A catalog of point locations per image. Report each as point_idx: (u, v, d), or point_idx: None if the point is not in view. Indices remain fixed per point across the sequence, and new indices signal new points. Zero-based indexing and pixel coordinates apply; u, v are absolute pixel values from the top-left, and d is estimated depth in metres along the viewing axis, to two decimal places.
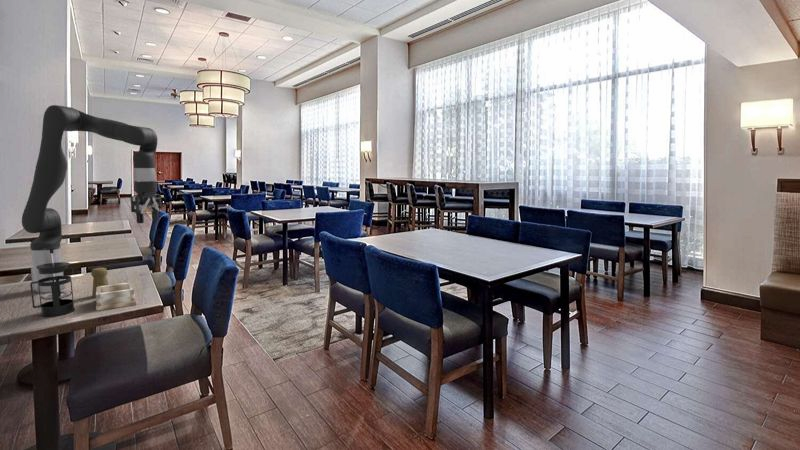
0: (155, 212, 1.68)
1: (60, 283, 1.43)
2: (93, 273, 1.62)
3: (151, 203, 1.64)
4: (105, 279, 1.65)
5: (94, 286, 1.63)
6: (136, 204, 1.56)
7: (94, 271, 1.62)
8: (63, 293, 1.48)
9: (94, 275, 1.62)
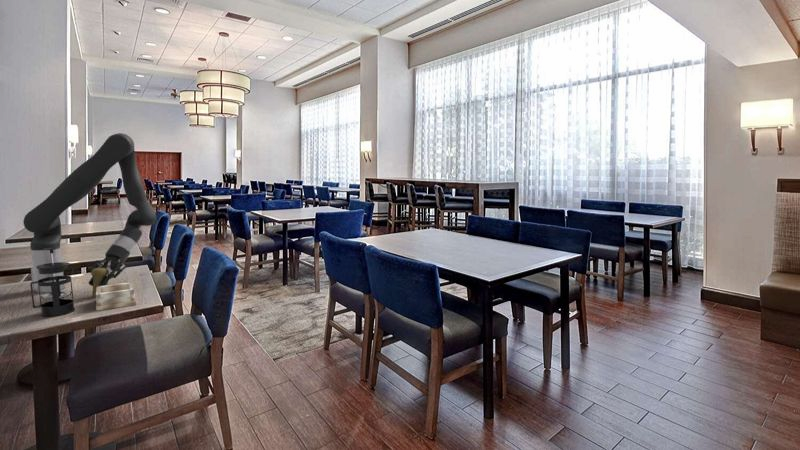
0: None
1: (60, 283, 1.43)
2: (93, 273, 1.62)
3: None
4: None
5: (94, 286, 1.63)
6: (120, 272, 1.67)
7: (94, 271, 1.62)
8: (63, 293, 1.48)
9: (94, 275, 1.62)
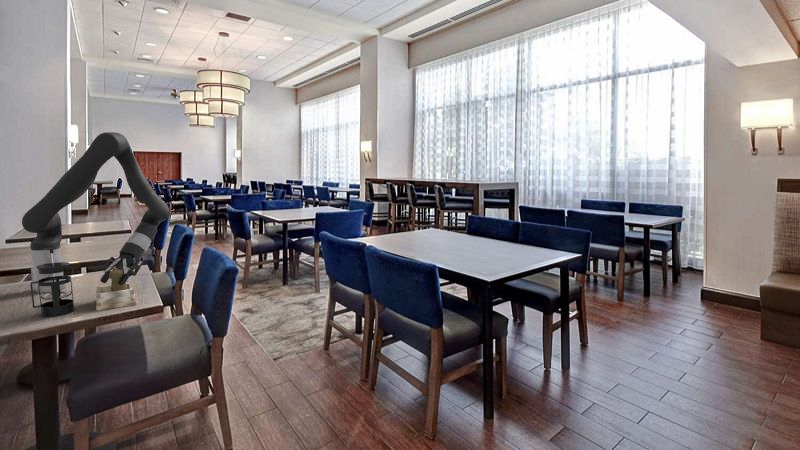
0: None
1: (60, 283, 1.43)
2: (111, 275, 1.54)
3: None
4: None
5: (113, 288, 1.55)
6: (138, 268, 1.59)
7: (112, 273, 1.54)
8: (63, 293, 1.48)
9: (113, 277, 1.54)
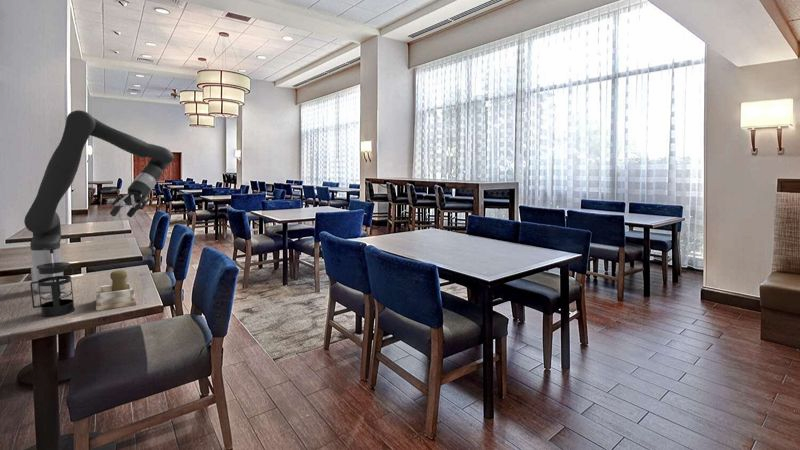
0: (118, 209, 1.73)
1: (60, 283, 1.43)
2: (113, 276, 1.54)
3: None
4: (125, 282, 1.57)
5: (114, 289, 1.55)
6: (145, 203, 1.73)
7: (114, 274, 1.54)
8: (63, 293, 1.48)
9: (114, 278, 1.54)
